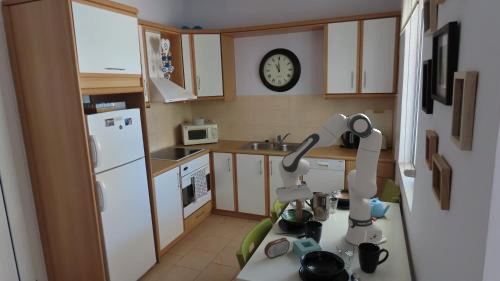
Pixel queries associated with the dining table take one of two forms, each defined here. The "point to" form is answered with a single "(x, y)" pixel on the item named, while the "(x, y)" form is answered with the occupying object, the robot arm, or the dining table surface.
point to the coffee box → (321, 206)
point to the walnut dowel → (299, 208)
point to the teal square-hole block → (305, 246)
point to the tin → (276, 247)
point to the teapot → (377, 208)
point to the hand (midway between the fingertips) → (299, 208)
